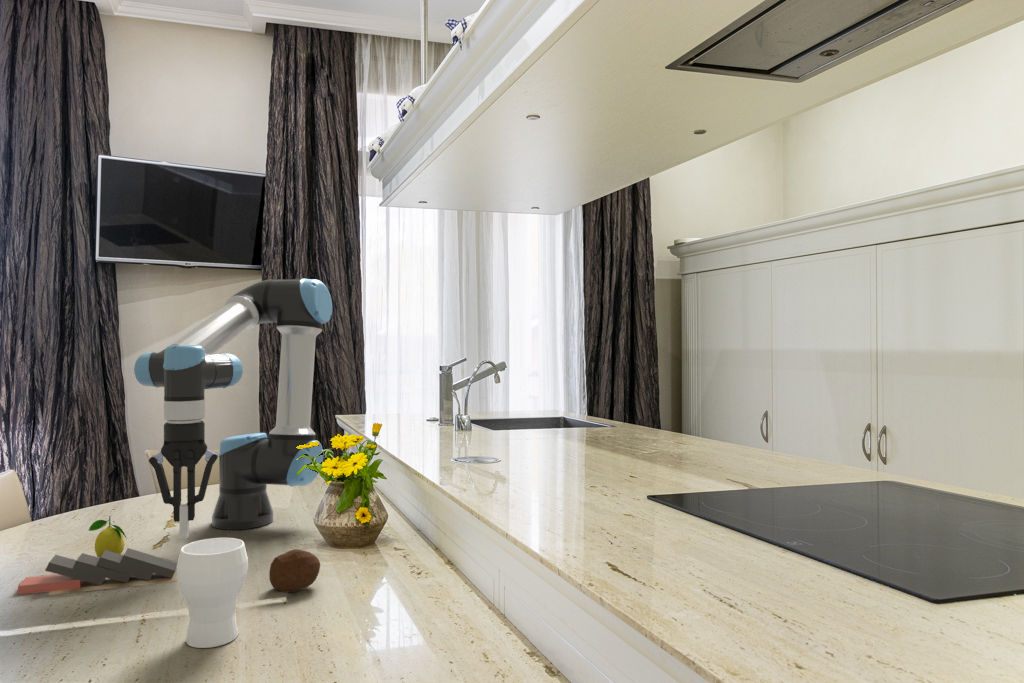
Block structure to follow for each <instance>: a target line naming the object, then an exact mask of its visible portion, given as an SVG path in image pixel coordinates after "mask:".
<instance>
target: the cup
mask: <svg viewBox="0 0 1024 683" xmlns="http://www.w3.org/2000/svg"><path fill="white" fill-rule="evenodd" d="M178 555H179V556H178V558H177V562H176V563H177V567H176V568H177V581H176V582H177V584H178V587H179V589H180V593H181V595H182V596H183V598H184V600H185V601H186V603H187V605H188V606H187V608H188V613H189V621H188V627H187V634H186V639H185V640H186V645H188V646H190V647H192V648H197V649H207V648H215V647H220V646H224V645H226V644H229V643H231V642H232V641H235V639H236V638H238V636H239V630H238V629H239V628H238V623H237V617H236V616H237V615H236V608H237V601H238V596H239V595H240V593H241V591H242V588H243V586H244V584H245V581H246V578H247V575H248V571H249V558H248V554H247V549H246V544H245V542H244V541H243V540H242V539H239V538H235V537H212V538H204V539H200V540H195V541H192V542H190V543H186V544H185V545H183V546H182V547H181V549H180V552H179V554H178Z"/></svg>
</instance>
